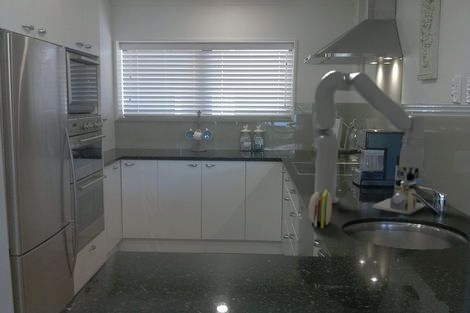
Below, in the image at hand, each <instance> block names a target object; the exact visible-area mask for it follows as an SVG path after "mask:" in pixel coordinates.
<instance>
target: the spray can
mask: <svg viewBox="0 0 470 313" xmlns="http://www.w3.org/2000/svg"><path fill="white" fill-rule="evenodd" d="M399 160H400V154H399V155H397V156H396V162H395V163H396V165H395V175H394V176H395V177H394V193H395V189H398V188H400V187H402V188H403V186H401V181H408V180H407V173H406V171H405V170H404V169H401V168H399ZM409 187H410V185H409V186H407V188H409ZM394 193H393V194H394Z"/></svg>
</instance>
